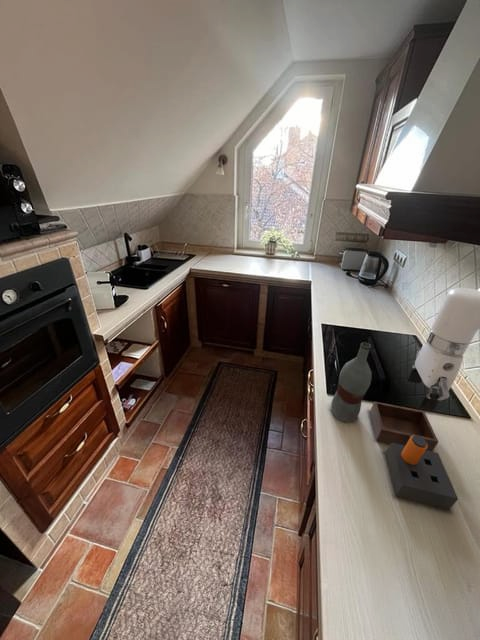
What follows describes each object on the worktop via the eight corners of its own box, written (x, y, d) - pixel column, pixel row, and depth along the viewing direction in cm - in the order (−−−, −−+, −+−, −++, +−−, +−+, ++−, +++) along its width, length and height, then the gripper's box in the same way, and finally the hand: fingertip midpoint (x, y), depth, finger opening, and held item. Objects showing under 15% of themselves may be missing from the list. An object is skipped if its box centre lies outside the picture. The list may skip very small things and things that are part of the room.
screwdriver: (407, 464, 74) (425, 435, 68) (412, 478, 71) (431, 449, 64) (393, 460, 75) (408, 432, 68) (396, 474, 72) (413, 445, 65)
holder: (429, 465, 75) (438, 452, 72) (447, 511, 64) (458, 499, 61) (384, 454, 77) (390, 442, 74) (395, 497, 67) (403, 485, 64)
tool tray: (417, 422, 87) (424, 411, 84) (430, 453, 78) (438, 441, 75) (369, 412, 91) (374, 401, 88) (375, 441, 81) (381, 429, 78)
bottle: (329, 420, 88) (350, 350, 72) (329, 400, 95) (348, 333, 80) (358, 427, 85) (386, 356, 70) (356, 406, 93) (380, 339, 78)
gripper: (486, 367, 50) (449, 424, 59) (449, 325, 65) (423, 375, 74) (443, 361, 52) (413, 417, 61) (416, 320, 67) (395, 370, 75)
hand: (419, 394), depth 67 cm, fingers open, 9 cm apart
